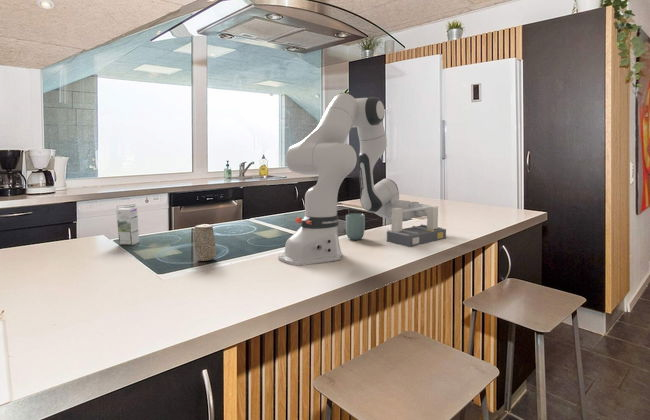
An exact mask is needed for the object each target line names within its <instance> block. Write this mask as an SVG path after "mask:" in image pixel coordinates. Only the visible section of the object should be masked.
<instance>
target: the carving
mask: <svg viewBox="0 0 650 420" xmlns="http://www.w3.org/2000/svg"><path fill="white" fill-rule="evenodd" d="M215 237H216V236H215V233H214V227H213V225H212V224H207V223H206V224H205V223H204V224H197V225H195V226H194V229H193V241H194V242H193V245H194V253H195V257H196V259H197V261H199V262H207V261H211V260H214V259H216V258H217V246H216V239H215Z"/></svg>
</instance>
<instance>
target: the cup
mask: <svg viewBox="0 0 650 420" xmlns="http://www.w3.org/2000/svg"><path fill="white" fill-rule="evenodd" d="M365 219H366V215H365V214H364V213H347V214H346V215H345V233H346V236H347V238H348V239H349V240H351V241H359V240H362V239H363V238H364V235H365V227H366V221H365Z"/></svg>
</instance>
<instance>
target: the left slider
mask: <svg viewBox="0 0 650 420" xmlns="http://www.w3.org/2000/svg"><path fill="white" fill-rule="evenodd" d="M402 214H403V209H402V208H392V219H391V223H390V224H391V225H390V226H391V228H390V231H394V232H400V231H402V229H403V221H402Z"/></svg>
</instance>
